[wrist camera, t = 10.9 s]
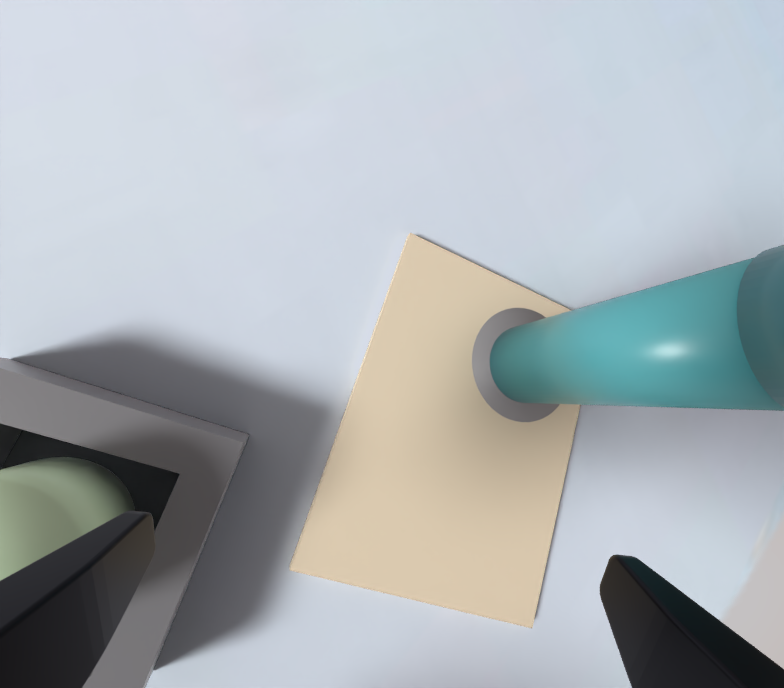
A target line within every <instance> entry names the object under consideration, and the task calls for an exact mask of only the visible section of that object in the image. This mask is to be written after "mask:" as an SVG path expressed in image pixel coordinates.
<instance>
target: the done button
mask: <svg viewBox="0 0 784 688" xmlns="http://www.w3.org/2000/svg"><path fill="white" fill-rule="evenodd" d="M126 511H135V507H134V503H133V500H132V497H131V495H130V493H129V491H128V489H127V488H126V486H125V485H124V484H123V482H122V481H121V480H120V479H119V478H118V477H117V476H116V475H115V474H114V473H112V472H111V471H109V470H108V469H107V468H105V467H103V466H101V465H99V464H97V463H94V462H91V461H88V460H85V459H80V458H73V457H51V458H44V459H39V460H35V461H31V462H27V463H23V464H20V465H16V466H12V467H8V468H5V469H1V470H0V581H1V580H2V579H4V578H6V577H8V576H10V575H11V574H13V573H15V572H17V571H19V570H20V569H22V568H24V567H26V566H28V565H30V564H31V563H33V562H35V561H37V560H39V559H40V558H42V557H44V556H46V555H48V554H50V553H51V552H53V551H55V550H57V549H59V548H60V547H62V546H64V545H66V544H68V543H69V542H71V541H73V540H75V539H77V538H79V537H80V536H82V535H84V534H86V533H88V532H89V531H91V530H93V529H95V528H97V527H99V526H100V525H102V524H104V523H106V522H108V521H109V520H111V519H113V518H115V517H117V516H118V515H120V514H122V513H124V512H126Z"/></svg>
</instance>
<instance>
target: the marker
mask: <svg viewBox="0 0 784 688" xmlns="http://www.w3.org/2000/svg"><path fill="white" fill-rule="evenodd" d="M490 370H491V374H492V377H493V380H494V382H495V384H496V386H497V387H498V388H499V390H500V391H501V392H502V393H503V394H504V395H505V396H507V397H508V398H510V399H511V400H514V401H516V402H520V403H543V404H577V405H611V406H645V407H679V408H712V409H746V410H780V411H784V245H782V246H778V247H775V248H772V249H769V250H766V251H764V252H762V253H760V254H758V255H757V256H756V257H755V258H751V259H748V260H744V261H741V262H738V263H734V264H731V265H727V266H724V267H720V268H717V269H713V270H710V271H706V272H703V273H700V274H696V275H693V276H689V277H686V278H682V279H679V280H675V281H672V282H668V283H665V284H662V285H658V286H655V287H651V288H648V289H644V290H641V291H637V292H634V293H630V294H627V295H624V296H620V297H617V298H613V299H610V300H606V301H603V302H599V303H596V304H592V305H589V306H585V307H582V308H579V309H575V310H572V311H568V312H565V313H561V314H558V315H554V316H551V317H547V318H544V319H541V320H537V321H534V322H530V323H527V324H523V325H520V326H516V327H513V328H510V329H508V330H506V331H504V332H503V333H502V334H501V335H500V336H499V337H498V338H497V339H496V341H495V342H494V344H493V347H492V350H491V353H490Z"/></svg>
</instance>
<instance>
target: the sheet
mask: <svg viewBox="0 0 784 688" xmlns="http://www.w3.org/2000/svg"><path fill="white" fill-rule="evenodd" d="M568 311H572V310H570V309H568V308H566V307H564V306H561V305H559V304H557V303H555V302H553V301H551V300H549V299H547V298H545V297H543V296H541V295H539V294H537V293H534V292H532V291H530V290H528V289H526V288H524V287H522V286H520V285H518V284H516V283H514V282H512V281H509V280H507V279H505V278H503V277H501V276H499V275H497V274H495V273H493V272H491V271H489V270H487V269H485V268H482V267H480V266H478V265H476V264H474V263H472V262H470V261H468V260H466V259H464V258H462V257H460V256H458V255H455V254H453V253H451V252H449V251H447V250H445V249H443V248H441V247H439V246H437V245H435V244H433V243H431V242H428V241H426V240H424V239H422V238H420V237H418V236H416V235H414V234H412V233H410V234H409V235H408V236H407V239H406V242H405V245H404V248H403V250H402V253H401V256H400V259H399V261H398V264H397V267H396V270H395V273H394V275H393V278H392V281H391V284H390V287H389V289H388V292H387V295H386V298H385V301H384V303H383V306H382V309H381V312H380V315H379V317H378V320H377V323H376V326H375V328H374V331H373V334H372V337H371V340H370V342H369V345H368V348H367V351H366V354H365V356H364V359H363V362H362V365H361V368H360V370H359V373H358V376H357V379H356V382H355V384H354V387H353V390H352V393H351V396H350V398H349V401H348V404H347V407H346V409H345V412H344V415H343V418H342V421H341V423H340V426H339V429H338V432H337V435H336V437H335V440H334V443H333V446H332V449H331V451H330V454H329V457H328V460H327V463H326V465H325V468H324V471H323V474H322V476H321V479H320V482H319V485H318V488H317V490H316V493H315V496H314V499H313V502H312V504H311V507H310V510H309V513H308V516H307V518H306V521H305V524H304V527H303V530H302V532H301V535H300V538H299V541H298V544H297V546H296V549H295V552H294V555H293V557H292V560H291V563H290V566H289V567H290V570H291V571H295V572H299V573H303V574H307V575H311V576H316V577H320V578H324V579H328V580H332V581H336V582H341V583H345V584H349V585H353V586H357V587H362V588H366V589H370V590H374V591H378V592H382V593H387V594H391V595H395V596H399V597H403V598H407V599H412V600H416V601H420V602H424V603H428V604H433V605H437V606H441V607H445V608H449V609H453V610H458V611H462V612H466V613H470V614H474V615H479V616H483V617H487V618H491V619H495V620H499V621H504V622H508V623H512V624H516V625H520V626H524V627H529V628H532V627H533V623H534V618H535V613H536V609H537V604H538V599H539V595H540V590H541V586H542V581H543V576H544V572H545V567H546V562H547V558H548V553H549V548H550V544H551V539H552V535H553V530H554V525H555V521H556V516H557V511H558V507H559V502H560V498H561V493H562V488H563V484H564V479H565V474H566V470H567V465H568V460H569V456H570V451H571V447H572V442H573V437H574V433H575V428H576V423H577V419H578V414H579V410H580V405H577V404H543V403H520V402H516V401H514V400H511V399H510V398H508V397H507V396H505V395H504V394H503V393H502V392H501V391H500V390H499V388H498V387H497V386H496V384H495V382H494V380H493V377H492V374H491V370H490V353H491V350H492V347H493V344H494V342H495V341H496V339H497V338H498V337H499V336H500V335H501V334H502V333H503V332H504V331H506V330H508V329H510V328H513V327H516V326H520V325H523V324H527V323H530V322H534V321H537V320H541V319H544V318H547V317H551V316H554V315H558V314H561V313H565V312H568Z"/></svg>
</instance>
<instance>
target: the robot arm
mask: <svg viewBox="0 0 784 688" xmlns="http://www.w3.org/2000/svg"><path fill="white" fill-rule="evenodd" d="M155 548H156V543H155V533H154V523H153V516H152V515H151V513H149V512H142V511H126V512H124V513H122V514H120V515H118V516H117V517H115V518H113V519H111V520H109V521H108V522H106V523H104V524H102V525H100V526H99V527H97V528H95V529H93V530H91V531H89V532H88V533H86V534H84V535H82V536H80V537H79V538H77V539H75V540H73V541H71V542H69V543H68V544H66V545H64V546H62V547H60V548H59V549H57V550H55V551H53V552H51V553H50V554H48V555H46V556H44V557H42V558H40V559H39V560H37V561H35V562H33V563H31V564H30V565H28V566H26V567H24V568H22V569H20V570H19V571H17V572H15V573H13V574H11V575H10V576H8V577H6V578H4V579H2V580H1V581H0V688H83V686H84V684H85V683H86V681H87V679H88V678H89V676H90V675H91V673H92V671H93V670H94V668H95V667H96V665H97V663H98V662H99V660H100V658H101V657H102V655H103V653H104V652H105V650H106V648H107V646H108V644H109V643H110V641H111V639H112V637H113V635H114V633H115V631H116V629H117V627H118V625H119V623H120V622H121V620H122V618H123V616H124V614H125V612H126V610H127V608H128V606H129V604H130V602H131V600H132V598H133V596H134V594H135V592H136V590H137V588H138V586H139V584H140V582H141V580H142V579H143V577H144V575H145V573H146V571H147V569H148V567H149V565H150V563H151V561H152V559H153V556H154V553H155ZM600 596H601V600H602V603H603V606H604V609H605V612H606V615H607V617H608V620H609V623H610V626H611V629H612V632H613V635H614V638H615V641H616V643H617V646H618V649H619V652H620V655H621V658H622V661H623V664H624V667H625V669H626V672H627V675H628V678H629V681H630V683H631V686H632V688H784V669H783V668H781V667H780V666H779V665H777V664H776V663H774V661H772V660H771V659H770V658H768V657H767V656H766V655H764V654H763V653H762V652H760V651H759V650H758V649H756V648H755V647H754V646H752V645H751V644H750V643H748V642H747V641H746V640H744V639H743V638H742V637H741V636H739V635H738V634H736V633H735V632H734V631H733V630H731V629H730V628H729V627H727V626H726V625H725V624H723V623H722V622H721V621H719V620H718V619H717V618H715V617H714V616H713V615H711V614H710V613H709V612H707V611H706V610H705V609H704V608H702V607H701V606H700V605H698V604H697V603H696V602H694V601H693V600H692V599H690V598H689V597H688V596H686V595H685V594H684V593H682V592H681V591H680V590H678V589H677V588H676V587H674V586H673V585H672V584H670V583H669V582H668V581H667V580H665V579H664V578H663V577H661V576H660V575H659V574H657V573H656V572H655V571H653V570H652V569H651V568H649V567H648V566H647V565H645V564H644V563H643V562H641V561H640V560H639V559H637V558H635V557H633V556H625V555H613V556H612V557H611V558H610V559H609V562H608V564H607V567H606V570H605V573H604V575H603V578H602V581H601V584H600Z"/></svg>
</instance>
